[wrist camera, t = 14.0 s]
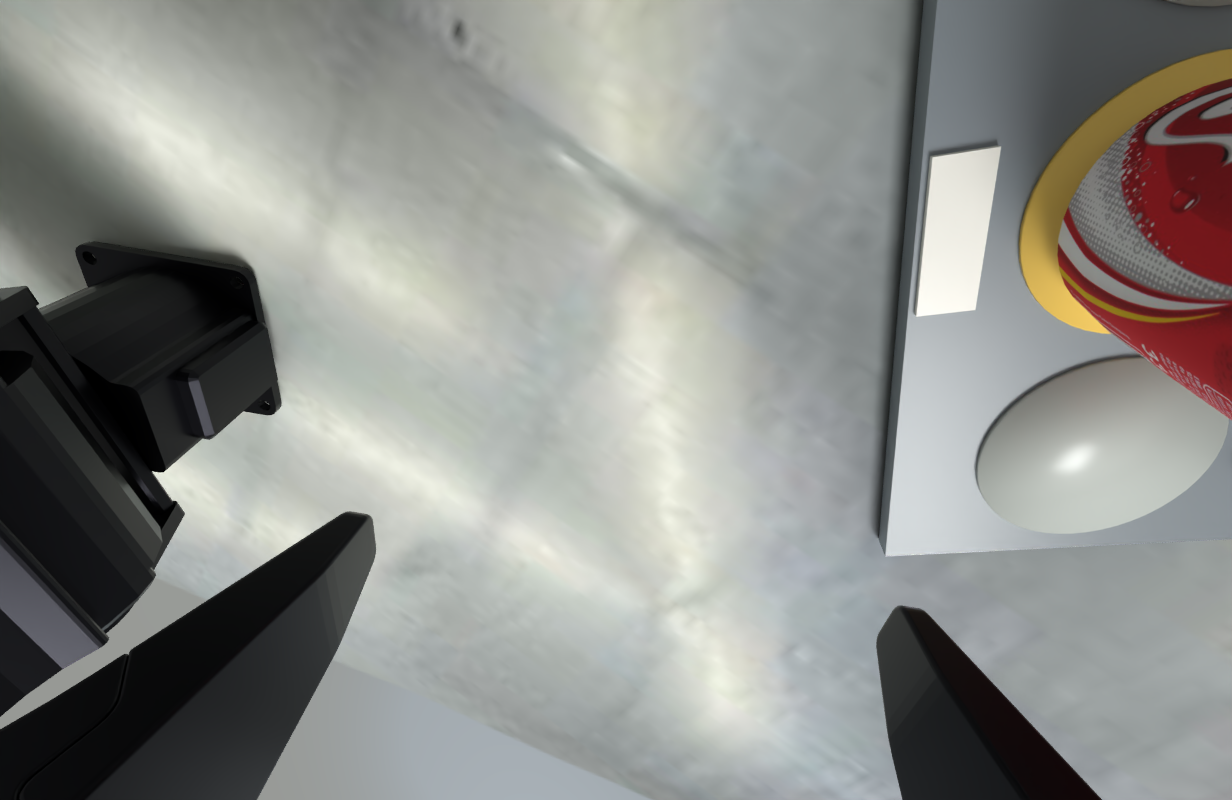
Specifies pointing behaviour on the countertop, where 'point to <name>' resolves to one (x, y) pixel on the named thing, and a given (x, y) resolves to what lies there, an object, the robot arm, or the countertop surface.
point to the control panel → (1038, 290)
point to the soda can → (1162, 241)
